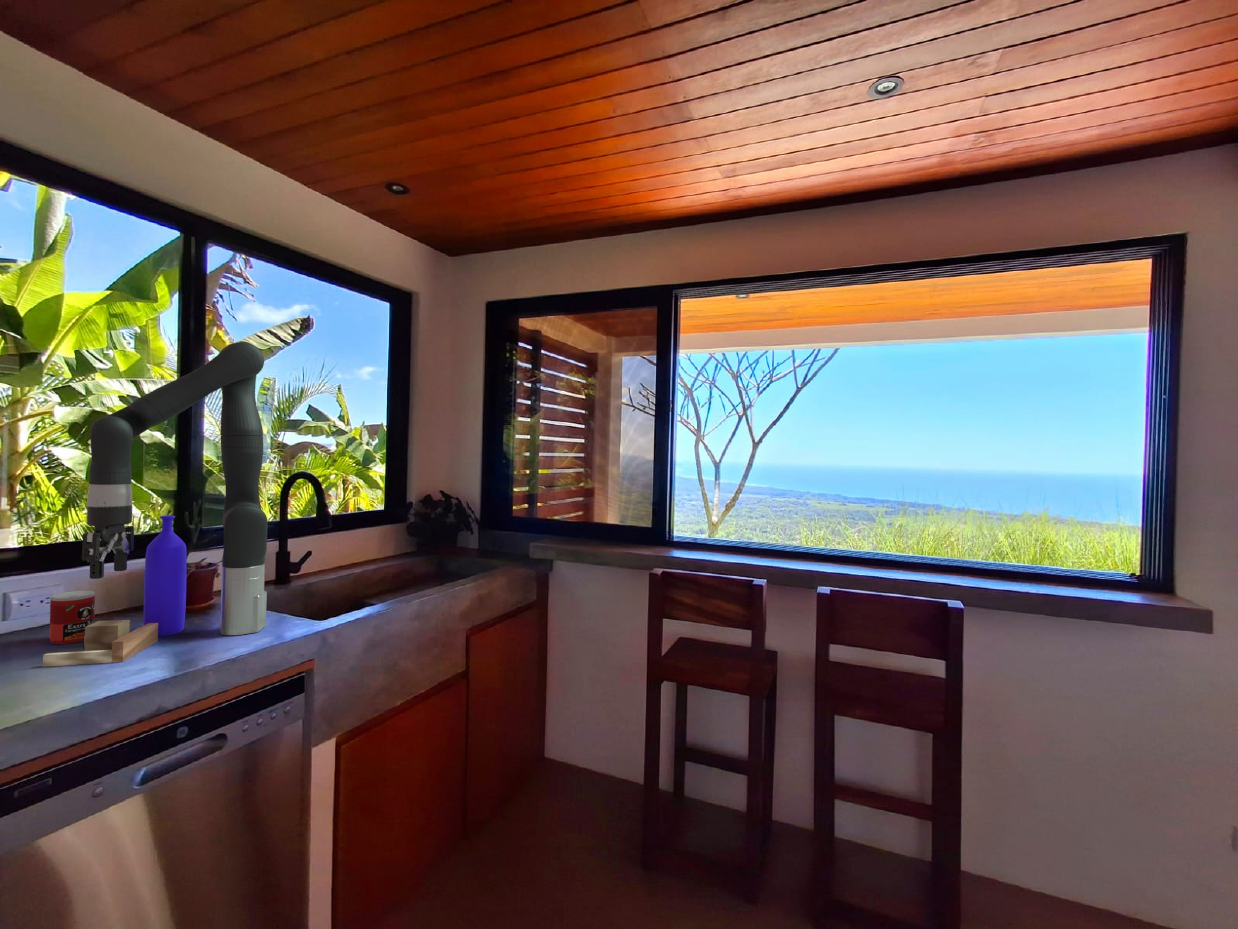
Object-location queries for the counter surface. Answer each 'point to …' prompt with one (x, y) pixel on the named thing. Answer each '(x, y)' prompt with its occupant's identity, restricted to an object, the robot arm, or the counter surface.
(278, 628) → the counter surface
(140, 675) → the counter surface
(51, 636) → the canned food
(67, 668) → the counter surface
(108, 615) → the counter surface
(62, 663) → the channel
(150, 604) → the bottle
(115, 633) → the block
